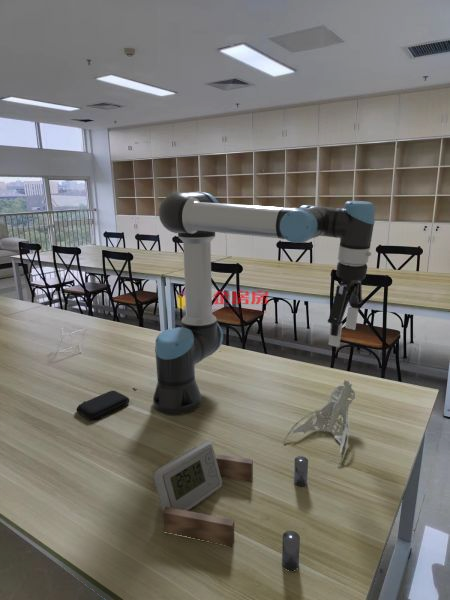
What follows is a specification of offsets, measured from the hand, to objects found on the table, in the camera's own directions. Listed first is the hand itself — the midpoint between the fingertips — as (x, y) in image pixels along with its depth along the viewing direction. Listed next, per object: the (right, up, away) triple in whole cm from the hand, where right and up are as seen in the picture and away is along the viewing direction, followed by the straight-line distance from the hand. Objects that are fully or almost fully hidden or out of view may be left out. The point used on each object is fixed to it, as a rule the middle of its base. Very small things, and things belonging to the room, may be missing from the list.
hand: (342, 336), depth 115 cm
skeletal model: (-4, -27, -1) cm, 27 cm away
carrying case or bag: (-71, -24, +15) cm, 76 cm away
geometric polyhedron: (-98, -11, +62) cm, 116 cm away
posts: (-18, -35, -30) cm, 49 cm away
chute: (-35, -34, -25) cm, 55 cm away
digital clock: (-40, -34, -24) cm, 58 cm away
